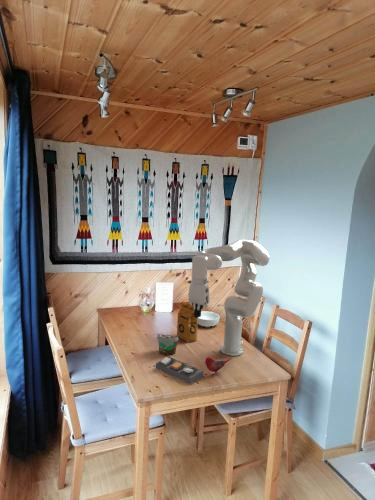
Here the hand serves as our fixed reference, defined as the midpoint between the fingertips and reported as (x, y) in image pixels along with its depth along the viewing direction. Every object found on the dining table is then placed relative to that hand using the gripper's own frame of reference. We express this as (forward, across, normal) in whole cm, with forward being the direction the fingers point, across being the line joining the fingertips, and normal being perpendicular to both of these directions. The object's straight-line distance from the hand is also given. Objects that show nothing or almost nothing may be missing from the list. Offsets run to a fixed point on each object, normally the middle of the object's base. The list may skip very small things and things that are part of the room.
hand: (197, 316), depth 184 cm
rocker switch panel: (+26, +2, +10) cm, 28 cm away
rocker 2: (+22, -5, +12) cm, 26 cm away
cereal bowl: (+28, +32, -53) cm, 68 cm away
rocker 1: (+22, +9, +12) cm, 27 cm away
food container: (+27, +21, -1) cm, 34 cm away
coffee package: (+27, +26, -26) cm, 45 cm away
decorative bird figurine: (+27, -12, -2) cm, 29 cm away
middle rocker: (+22, +2, +12) cm, 26 cm away
